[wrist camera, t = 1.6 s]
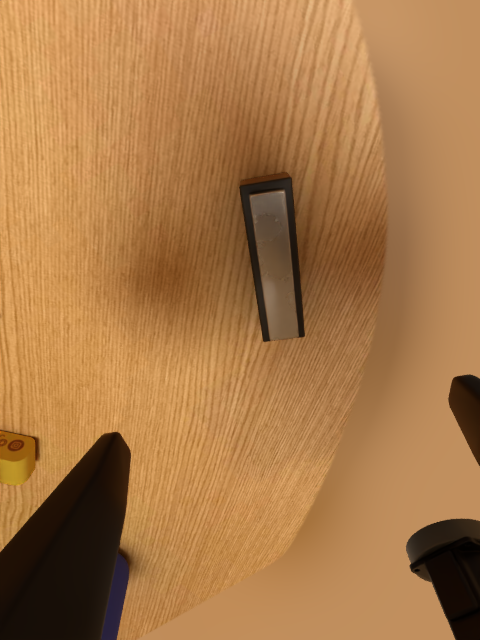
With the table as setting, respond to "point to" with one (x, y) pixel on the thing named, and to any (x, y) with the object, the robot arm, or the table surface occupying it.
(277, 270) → the black and silver bar
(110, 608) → the mug
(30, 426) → the table surface
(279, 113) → the table surface
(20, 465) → the decorative sign
